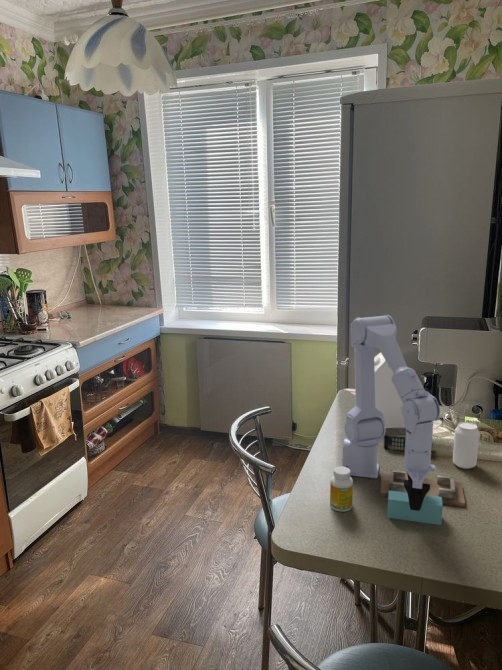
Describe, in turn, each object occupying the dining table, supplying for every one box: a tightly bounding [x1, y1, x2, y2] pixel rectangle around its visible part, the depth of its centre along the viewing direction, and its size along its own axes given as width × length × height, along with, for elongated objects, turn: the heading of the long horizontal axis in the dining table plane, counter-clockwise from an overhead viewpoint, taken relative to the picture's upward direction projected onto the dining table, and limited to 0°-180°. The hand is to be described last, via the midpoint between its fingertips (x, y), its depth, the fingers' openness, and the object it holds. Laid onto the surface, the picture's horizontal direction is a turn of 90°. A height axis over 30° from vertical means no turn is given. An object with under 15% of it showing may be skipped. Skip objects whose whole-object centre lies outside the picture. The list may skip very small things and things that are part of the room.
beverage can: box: [452, 421, 480, 470], centre depth 144 cm, size 6×6×12 cm
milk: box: [374, 351, 406, 429], centre depth 173 cm, size 12×12×26 cm
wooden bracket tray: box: [379, 469, 466, 508], centre depth 132 cm, size 20×10×3 cm, turn 74°
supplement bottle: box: [329, 465, 354, 513], centre depth 126 cm, size 5×5×10 cm
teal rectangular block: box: [386, 490, 444, 526], centre depth 122 cm, size 12×4×5 cm, turn 74°
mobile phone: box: [383, 433, 406, 452], centre depth 154 cm, size 5×3×15 cm
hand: (414, 500), depth 121 cm, fingers open, 7 cm apart
